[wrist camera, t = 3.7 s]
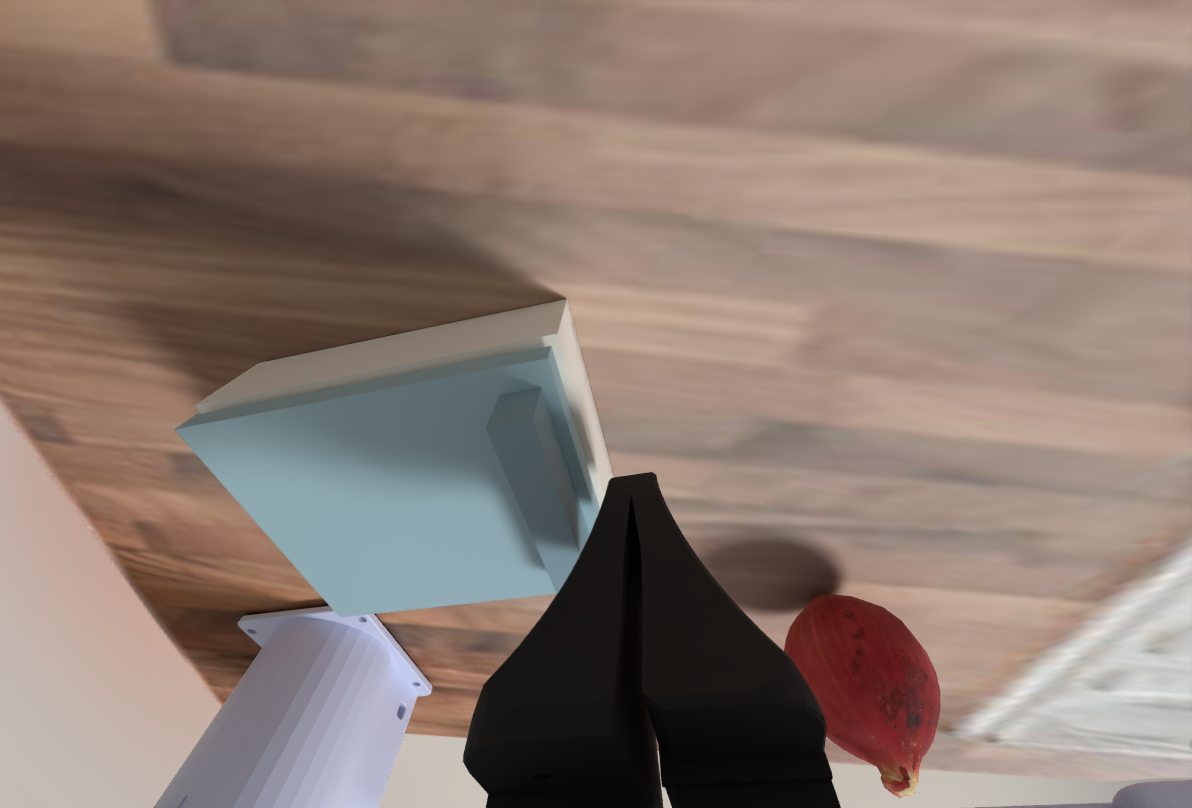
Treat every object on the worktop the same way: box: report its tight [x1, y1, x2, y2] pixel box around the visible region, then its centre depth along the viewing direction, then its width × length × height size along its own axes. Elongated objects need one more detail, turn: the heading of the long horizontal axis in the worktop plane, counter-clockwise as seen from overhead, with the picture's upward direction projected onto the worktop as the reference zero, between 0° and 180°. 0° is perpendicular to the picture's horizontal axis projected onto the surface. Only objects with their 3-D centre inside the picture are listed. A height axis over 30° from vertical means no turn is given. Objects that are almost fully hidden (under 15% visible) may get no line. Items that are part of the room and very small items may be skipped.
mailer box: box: [194, 299, 614, 508], centre depth 17 cm, size 10×12×3 cm
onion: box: [784, 594, 940, 798], centre depth 19 cm, size 6×6×8 cm
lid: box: [174, 346, 600, 618], centre depth 14 cm, size 10×12×2 cm
